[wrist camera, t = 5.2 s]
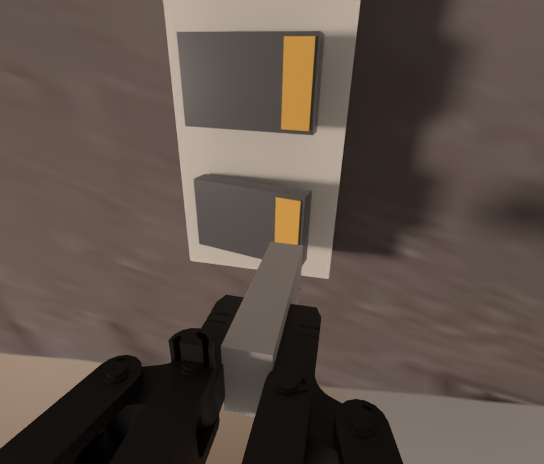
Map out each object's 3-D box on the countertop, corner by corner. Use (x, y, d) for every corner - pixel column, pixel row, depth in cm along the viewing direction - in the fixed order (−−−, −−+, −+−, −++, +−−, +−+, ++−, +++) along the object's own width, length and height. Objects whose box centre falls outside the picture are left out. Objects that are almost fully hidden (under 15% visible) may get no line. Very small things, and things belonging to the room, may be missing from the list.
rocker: (204, 173, 21) (192, 179, 20) (312, 190, 18) (304, 198, 17) (209, 236, 23) (198, 244, 22) (306, 259, 20) (299, 269, 19)
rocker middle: (189, 34, 17) (175, 31, 16) (324, 33, 15) (320, 30, 14) (195, 123, 19) (184, 126, 18) (317, 131, 17) (312, 135, 16)
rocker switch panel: (166, -399, 14) (105, -552, 11) (412, -458, 12) (436, -665, 9) (210, 236, 28) (190, 260, 24) (331, 250, 26) (328, 279, 22)
